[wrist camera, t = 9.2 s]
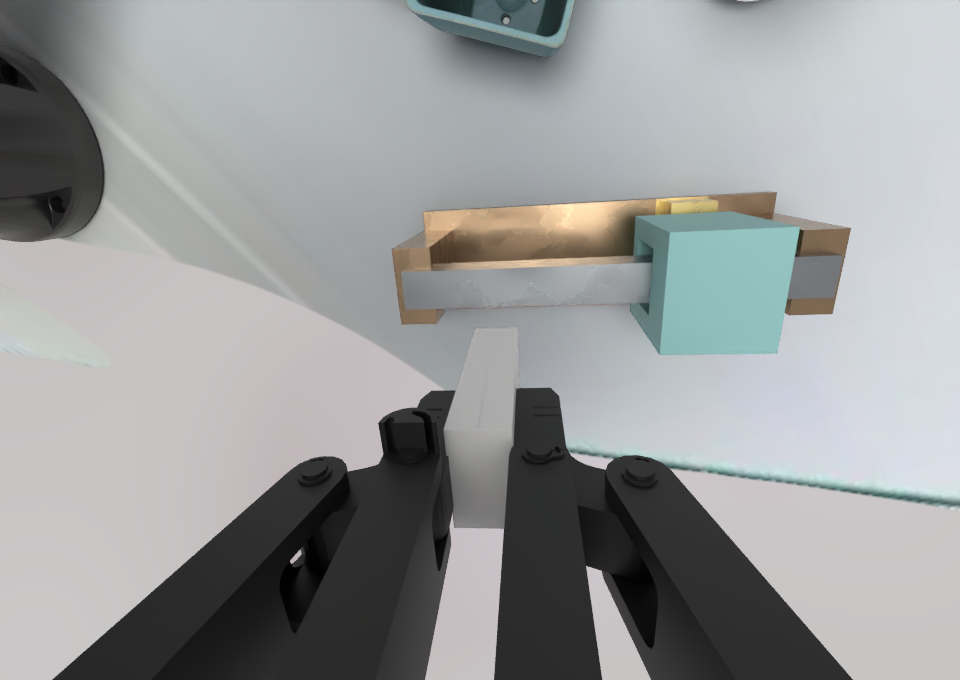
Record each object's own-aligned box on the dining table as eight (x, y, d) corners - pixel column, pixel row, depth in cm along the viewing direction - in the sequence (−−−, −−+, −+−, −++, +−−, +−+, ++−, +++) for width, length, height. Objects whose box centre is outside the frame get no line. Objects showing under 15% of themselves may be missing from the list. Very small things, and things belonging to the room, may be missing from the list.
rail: (432, 306, 39) (400, 350, 30) (422, 211, 37) (383, 226, 27) (757, 297, 36) (837, 343, 27) (774, 191, 33) (869, 201, 24)
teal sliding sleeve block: (630, 310, 33) (659, 354, 25) (635, 215, 30) (669, 232, 23) (718, 308, 32) (777, 353, 24) (730, 211, 30) (800, 226, 22)
